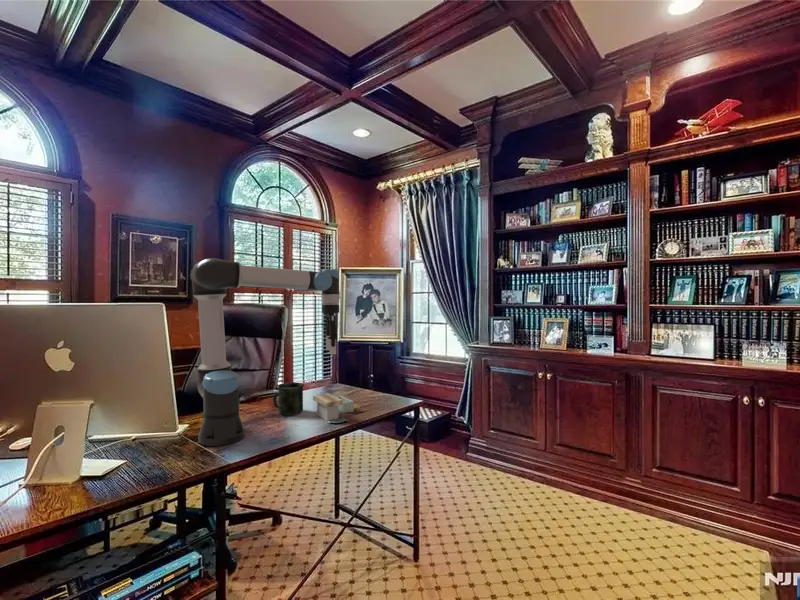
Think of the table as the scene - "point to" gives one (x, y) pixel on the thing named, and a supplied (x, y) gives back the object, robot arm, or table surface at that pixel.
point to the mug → (289, 398)
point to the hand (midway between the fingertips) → (331, 352)
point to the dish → (346, 405)
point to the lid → (327, 400)
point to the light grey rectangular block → (327, 412)
